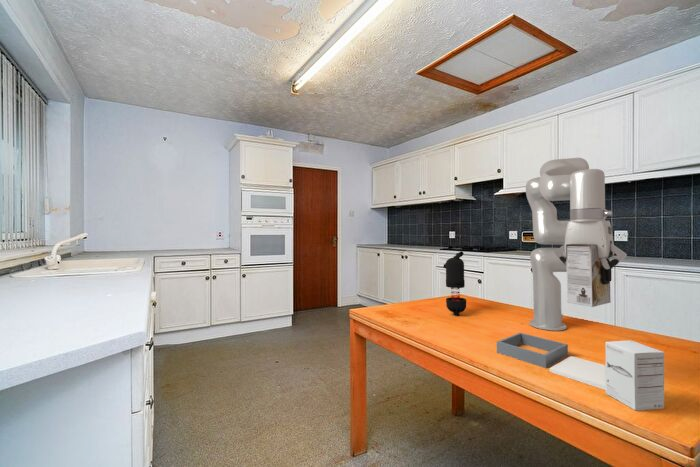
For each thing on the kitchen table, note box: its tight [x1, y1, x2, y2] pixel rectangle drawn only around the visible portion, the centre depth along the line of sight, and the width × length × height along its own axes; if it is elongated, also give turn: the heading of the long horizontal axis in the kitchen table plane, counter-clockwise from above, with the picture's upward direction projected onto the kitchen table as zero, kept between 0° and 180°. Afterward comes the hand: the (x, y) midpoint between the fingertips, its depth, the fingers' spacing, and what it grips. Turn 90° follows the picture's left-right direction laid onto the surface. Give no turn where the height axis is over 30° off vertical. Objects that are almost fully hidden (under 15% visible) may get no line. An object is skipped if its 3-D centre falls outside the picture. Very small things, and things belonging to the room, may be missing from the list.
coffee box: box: [566, 244, 612, 308], centre depth 85 cm, size 9×6×16 cm
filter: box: [443, 250, 467, 317], centre depth 147 cm, size 14×9×30 cm
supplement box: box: [604, 340, 665, 411], centre depth 72 cm, size 7×7×13 cm
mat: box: [549, 355, 606, 391], centre depth 85 cm, size 14×14×1 cm
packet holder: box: [496, 332, 569, 369], centre depth 99 cm, size 15×15×4 cm
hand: (588, 281), depth 85 cm, fingers closed on coffee box, 6 cm apart
